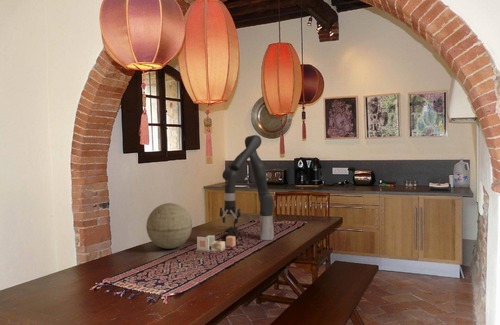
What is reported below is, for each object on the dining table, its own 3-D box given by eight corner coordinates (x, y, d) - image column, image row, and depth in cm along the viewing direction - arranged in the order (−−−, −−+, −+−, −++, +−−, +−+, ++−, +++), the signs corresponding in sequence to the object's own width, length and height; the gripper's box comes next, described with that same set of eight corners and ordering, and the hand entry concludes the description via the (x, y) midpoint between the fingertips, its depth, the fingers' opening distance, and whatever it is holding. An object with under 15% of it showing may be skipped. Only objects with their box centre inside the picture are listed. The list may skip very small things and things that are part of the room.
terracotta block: (235, 244, 277) (235, 236, 276) (232, 246, 272) (232, 238, 272) (228, 244, 278) (228, 235, 278) (226, 246, 274) (225, 237, 273)
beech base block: (225, 248, 268) (225, 241, 267) (221, 251, 261) (221, 244, 261) (215, 248, 270) (215, 240, 269) (211, 251, 263) (211, 243, 263)
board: (210, 251, 262) (210, 237, 262) (208, 252, 259) (208, 238, 259) (197, 250, 265) (197, 236, 265) (195, 251, 262) (195, 237, 262)
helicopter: (249, 237, 316) (249, 218, 318) (244, 241, 283) (244, 219, 284) (220, 237, 318) (220, 218, 320) (212, 241, 285) (212, 219, 286)
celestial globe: (138, 248, 271) (136, 203, 270) (175, 240, 293) (174, 198, 291) (163, 257, 250) (162, 208, 249) (201, 247, 272) (200, 202, 270)
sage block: (214, 243, 280) (214, 235, 280) (213, 245, 275) (213, 237, 275) (207, 243, 281) (207, 235, 280) (206, 245, 276) (206, 237, 275)
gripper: (241, 199, 275) (241, 222, 276) (222, 198, 280) (222, 221, 281) (237, 200, 268) (237, 225, 269) (218, 199, 273) (218, 223, 273)
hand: (230, 223), depth 275 cm, fingers open, 8 cm apart
